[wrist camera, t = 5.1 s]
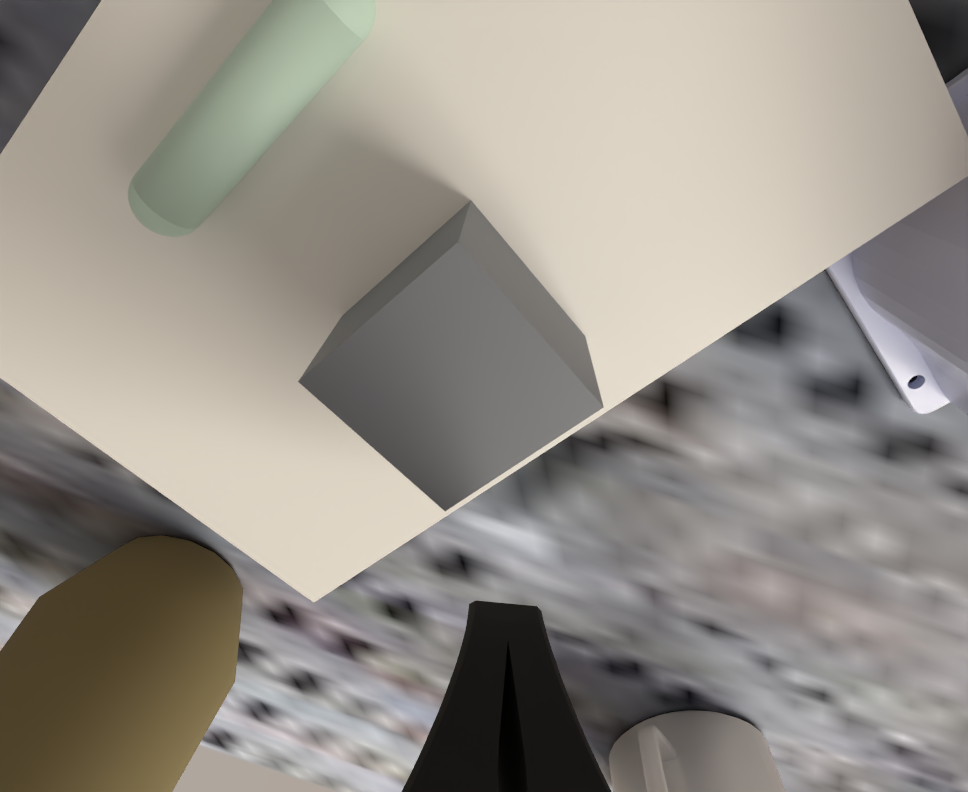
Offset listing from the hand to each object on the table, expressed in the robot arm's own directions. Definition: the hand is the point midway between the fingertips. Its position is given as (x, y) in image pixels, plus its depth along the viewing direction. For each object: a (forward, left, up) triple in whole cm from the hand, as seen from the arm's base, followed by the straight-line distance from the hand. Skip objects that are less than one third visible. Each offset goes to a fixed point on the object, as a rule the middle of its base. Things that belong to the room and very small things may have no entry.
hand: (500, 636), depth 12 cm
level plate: (+7, -2, -5) cm, 9 cm away
